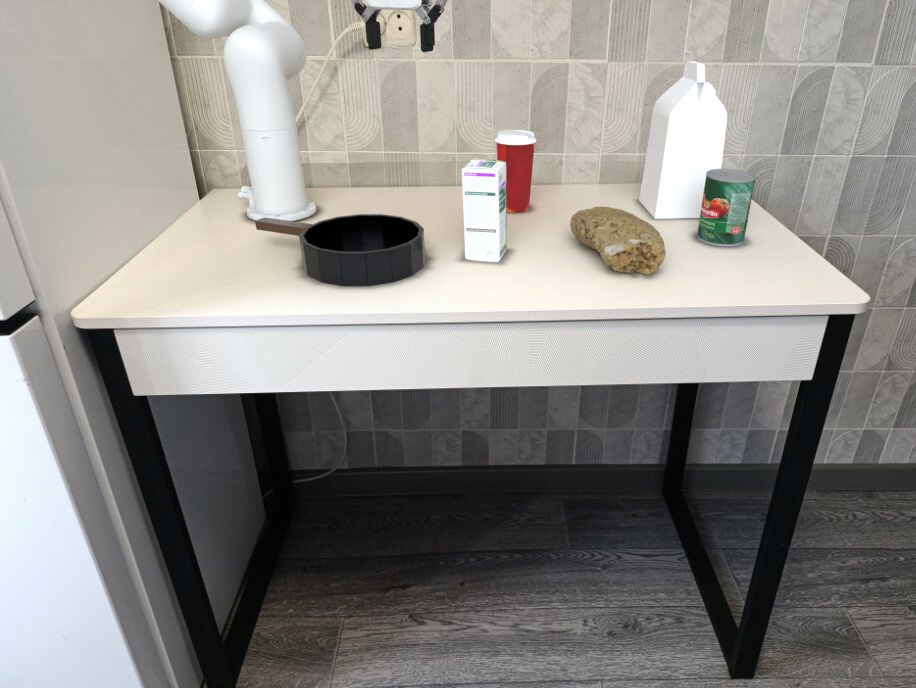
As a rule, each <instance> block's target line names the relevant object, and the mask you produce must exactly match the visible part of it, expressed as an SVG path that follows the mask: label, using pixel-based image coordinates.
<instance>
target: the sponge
mask: <svg viewBox="0 0 916 688" xmlns="http://www.w3.org/2000/svg"><path fill="white" fill-rule="evenodd" d="M569 226H570V231H571V232H572V235H574V237H575V238H576V239H577V240H578V241H579V242H581V243H582V244H584V245H585V246H587V247H588V248H590V249H592V250H595V251H596V252H598V253H599V255H600V258H601V259H602V261H603V262H604V263H605V265H606V266H608V267H610V268H611V269H612V270H613V271H615V272H616V271H617V272H620V273H632V274H633V273H634V272H636V273H639V274H641V275H647V276H648V275H651V274H653V273H655V272H656V271H657V270H659V267H660V266H661V265H662V264H663V263H664V261H665V257H666V254H667V253H666V252H667V251H666V246H665V241H664V239H663V237H662V235H661V234H660V232H659V230H657V229H656V227H655V226H653V225H652V224H650V223H649V222H648V221H646V220H644V219H641V218H640V217H638V216H637V215H634V213H632V212H628V211H626V210H623V209H620V208H615V207H610V206H594V207H592V208H586V209H582V210H578V211H576V212H575V213H574V214H573V215H572V216H571V218H570V222H569Z"/></svg>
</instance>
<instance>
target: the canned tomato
mask: <svg viewBox="0 0 916 688" xmlns="http://www.w3.org/2000/svg"><path fill="white" fill-rule="evenodd" d="M756 179H757V175H755V174H754V173H753V172H750V171H747V170H741V169H736V168H735V169H734V168H721V169H713V170H709V171H707V172H706V180H705V187H704V193H703V200H702V206H701V213H700V218H699V220H698V227H697V233H696V238H697V240H698V241H700V242H701V243H704V244H706V245H711V246H714V247H715V246H716V247H724V248H725V247H727V248H728V247H738V246H740V245H743V244H744V243H745V236H746V232H747V227H748V222H749V215H750V209H751V205H752V199H753V195H754V188H755V184H756Z"/></svg>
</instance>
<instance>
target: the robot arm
mask: <svg viewBox="0 0 916 688" xmlns="http://www.w3.org/2000/svg"><path fill="white" fill-rule="evenodd" d="M157 1H158V3H160V4H161V6H163V7H164V8H165V9H167V11H169V12H170V13H171V14H172V15H173V16H174V17H175V18H176V19H177V20H178V21H180V22H181V23H182V24H183V25H184V26H185V27H186V28H187V29H188V30H190V32H192V33H193V34H195V35H197V36H198V37H201V38H205V39H220V38H226V37H227V38H226V41H225V42H224V46H223V53H222V54H223V57H222V58H223V64H224V68H225V72H226V75H227V79H228V81H229V85H230V87H231V90H232V93H233V97H234V101H235V106H236V110H237V115H238V116H237V117H238V120H239V126H240V131H241V137H242V142H243V148H244V155H245V159H246V160H245V161H246V165H247V171H248V176H249V183H250V185H242V186H241V188H240V191H239V192H238V193H237V197H238V199H240V200H248V205H249V206H247V207H246V209H245V210H246V216H247V217H248V218H249V219H251V220H253V221H257V220H259V219H262V218H264V217H266V218H273V219H280V220H287V221H294V222H296V221H300V220H302V219H303V220H304V219H307V218H309V217H311V216H313V215H314V214H315V213H316V212H317V204H316V202H314V201H312V200H309V199H308V198H307V197H308V196H307V191H306V184H305V183H306V182H305V174H304V168H303V161H302V153H301V147H300V138H299V132H298V131H299V130H298V124H297V117H296V110H295V106H294V102H293V100H292V95H291V93H290V90H289V87H288V84H287V81H288V80H292V79H293V78H296V77H297V76H298V75H299V74H300V73H302V71H303V70H304V68H305V65H306V63H307V50H306V49H307V48H306V46H305V43H304V40H303V39H302V37H301V35H300V34H299V32H298V31H297V30H296V29H295V28H294V27H293V25H292V24H290V23H289V22H288V21H287V19H285V18H284V17H283V16H282V15H281V14H280V13H279V12H278V11H277V10H276V9H274V7H273V6H271V5H270V4H269V3H268V2H267V1H266V0H157ZM365 2H366V4H365V3H364V1H363V0H351V3H352V4H353V9H354V10H355V11H356V13H357V14H358V15H359V16H360V17H361V21H362V22H363V23H364V25H365V36H366V43H367V47H368V48H367V49H368V50H378V49H379V50H380V49H381V48H382V32H381V31H382V30H381V23H380V21H377V20H378V17H379V15H380V14H381V12H382V11H383V10H386V11H387V10H389V11H415V12H416V14H417V15H418V17H419V19H421V21H422V23H421V24H420V25H419V38H420V39H419V41H420V51H421V52H422V53H430V52H433V51H434V47H435V45H436V40H435V39H436V34H435V24H436V23H437V22H438V19H439V18H440V17H441V15H442V14H443V13H444V12H445V7H446V5H447V2H448V0H435V3H434V1H433V0H365ZM433 3H434V5H433ZM431 7H432V8H431Z"/></svg>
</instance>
